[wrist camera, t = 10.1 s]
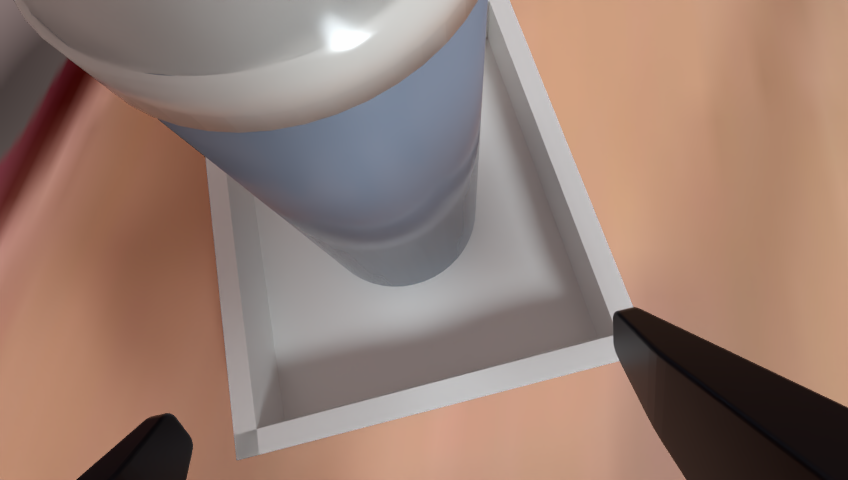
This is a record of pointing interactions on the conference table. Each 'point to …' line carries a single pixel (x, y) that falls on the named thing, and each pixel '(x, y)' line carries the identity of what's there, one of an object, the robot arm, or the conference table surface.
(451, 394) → the tray
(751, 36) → the conference table surface
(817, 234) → the conference table surface
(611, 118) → the conference table surface
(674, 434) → the robot arm
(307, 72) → the canister
